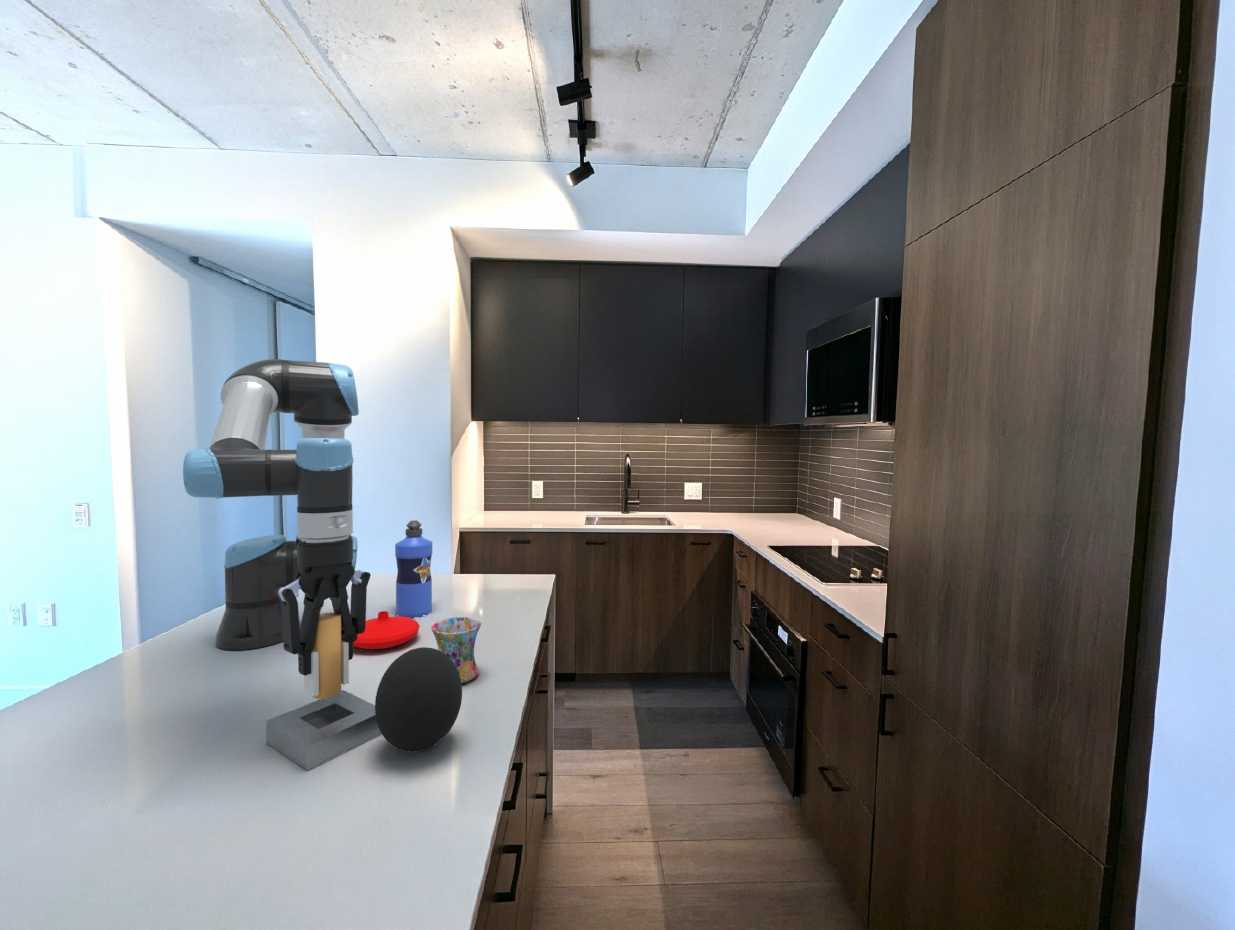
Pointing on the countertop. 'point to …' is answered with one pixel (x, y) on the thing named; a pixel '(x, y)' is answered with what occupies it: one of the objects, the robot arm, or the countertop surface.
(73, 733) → the countertop surface
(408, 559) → the water bottle
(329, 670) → the orange cylindrical peg
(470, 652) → the mug
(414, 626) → the red pot lid
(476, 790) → the countertop surface
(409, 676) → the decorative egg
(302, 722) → the grey peg socket
